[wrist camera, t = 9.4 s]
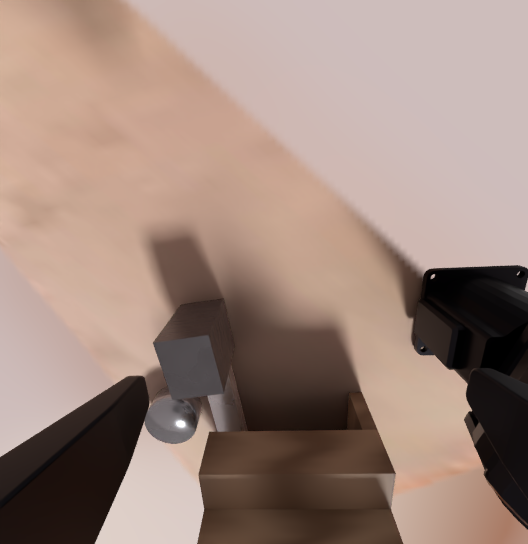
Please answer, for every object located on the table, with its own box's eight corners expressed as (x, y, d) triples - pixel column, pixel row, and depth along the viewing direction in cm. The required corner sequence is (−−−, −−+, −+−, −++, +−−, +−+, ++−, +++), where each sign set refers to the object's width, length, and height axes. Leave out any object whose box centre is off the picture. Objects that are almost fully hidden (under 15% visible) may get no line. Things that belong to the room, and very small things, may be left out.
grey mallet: (223, 298, 20) (208, 335, 15) (255, 431, 24) (250, 493, 19) (180, 304, 20) (152, 342, 16) (218, 435, 24) (205, 497, 20)
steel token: (197, 382, 23) (190, 401, 21) (206, 421, 24) (200, 442, 22) (149, 386, 23) (138, 405, 21) (161, 424, 24) (151, 445, 22)
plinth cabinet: (361, 392, 22) (421, 536, 13) (357, 449, 24) (407, 608, 15) (218, 395, 23) (183, 535, 14) (225, 450, 25) (198, 605, 16)
